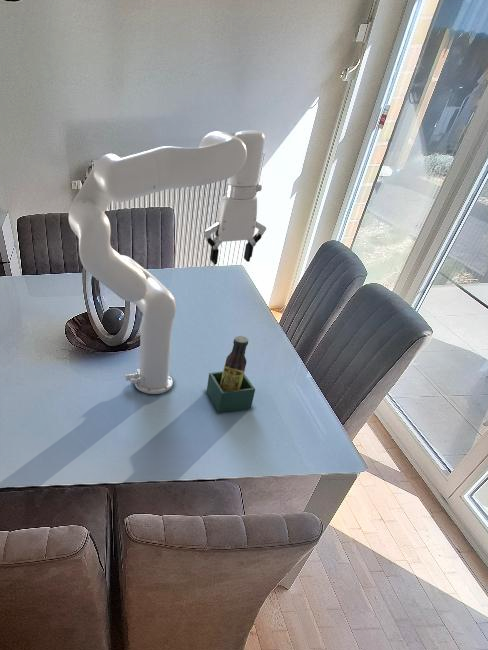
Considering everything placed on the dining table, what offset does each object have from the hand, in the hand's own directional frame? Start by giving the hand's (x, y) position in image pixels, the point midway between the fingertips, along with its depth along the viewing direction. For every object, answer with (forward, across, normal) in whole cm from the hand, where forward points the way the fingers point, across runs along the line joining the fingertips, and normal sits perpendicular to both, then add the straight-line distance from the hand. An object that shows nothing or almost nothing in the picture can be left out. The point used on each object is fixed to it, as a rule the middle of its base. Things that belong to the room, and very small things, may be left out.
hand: (230, 261), depth 131 cm
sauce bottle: (+35, 0, +17) cm, 39 cm away
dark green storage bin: (+36, 0, +17) cm, 40 cm away
